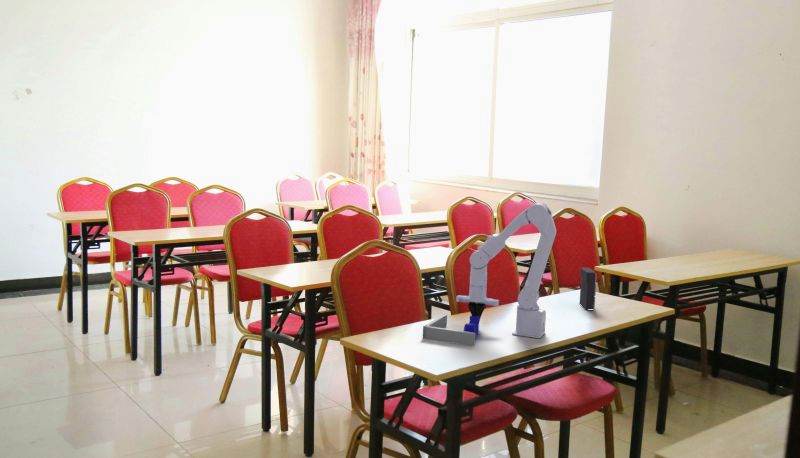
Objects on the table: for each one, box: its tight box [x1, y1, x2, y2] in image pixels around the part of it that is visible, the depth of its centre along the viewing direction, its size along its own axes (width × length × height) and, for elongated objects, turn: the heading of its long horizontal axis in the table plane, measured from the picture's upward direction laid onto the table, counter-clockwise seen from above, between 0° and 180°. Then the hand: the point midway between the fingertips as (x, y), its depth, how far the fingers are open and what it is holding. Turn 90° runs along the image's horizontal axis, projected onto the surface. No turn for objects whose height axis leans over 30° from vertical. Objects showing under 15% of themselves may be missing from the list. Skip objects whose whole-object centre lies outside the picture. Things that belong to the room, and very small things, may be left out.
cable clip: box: [463, 315, 480, 341], centre depth 239 cm, size 12×4×6 cm, turn 167°
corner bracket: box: [422, 313, 476, 347], centre depth 241 cm, size 17×19×4 cm
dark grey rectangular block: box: [579, 267, 597, 310], centre depth 288 cm, size 11×4×15 cm, turn 179°
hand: (476, 324), depth 250 cm, fingers closed
